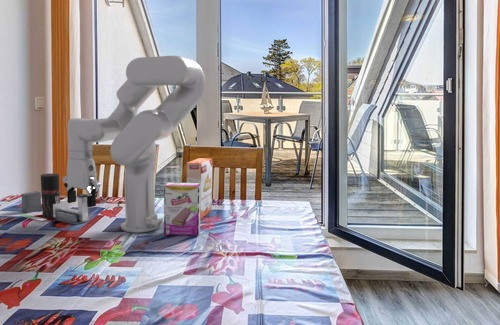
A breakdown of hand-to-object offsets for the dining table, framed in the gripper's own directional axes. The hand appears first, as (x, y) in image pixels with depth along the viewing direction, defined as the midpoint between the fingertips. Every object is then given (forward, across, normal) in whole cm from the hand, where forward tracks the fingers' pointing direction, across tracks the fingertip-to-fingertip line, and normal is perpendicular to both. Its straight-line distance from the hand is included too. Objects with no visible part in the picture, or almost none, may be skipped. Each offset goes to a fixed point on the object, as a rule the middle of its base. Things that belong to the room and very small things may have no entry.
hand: (81, 204), depth 143 cm
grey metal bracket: (+6, +5, 0) cm, 8 cm away
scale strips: (+7, +16, 0) cm, 17 cm away
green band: (+7, +22, 0) cm, 23 cm away
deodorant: (+7, +16, 0) cm, 17 cm away
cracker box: (+6, -29, -29) cm, 42 cm away
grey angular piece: (+6, +5, 0) cm, 8 cm away
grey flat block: (+7, +27, 0) cm, 28 cm away
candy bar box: (+6, -37, -8) cm, 38 cm away
